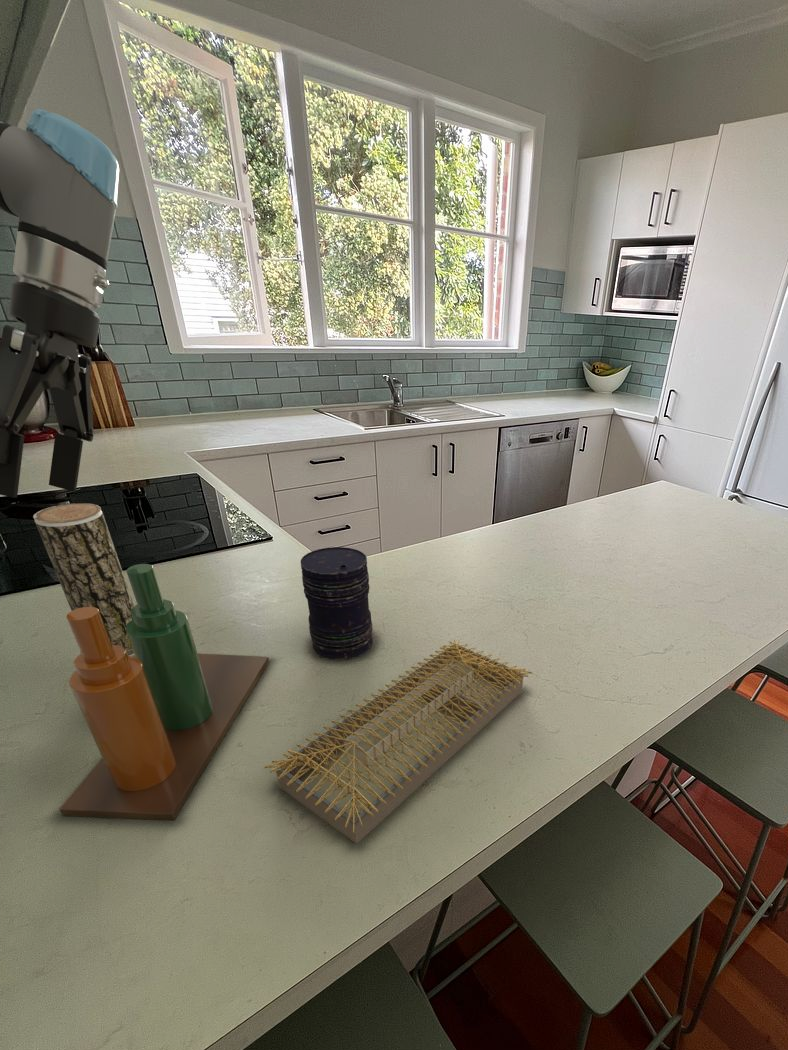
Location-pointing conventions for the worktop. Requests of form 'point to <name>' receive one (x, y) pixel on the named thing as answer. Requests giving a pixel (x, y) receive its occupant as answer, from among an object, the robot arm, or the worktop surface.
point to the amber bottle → (118, 706)
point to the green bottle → (166, 653)
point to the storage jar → (338, 602)
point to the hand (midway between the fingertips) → (34, 491)
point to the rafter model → (399, 735)
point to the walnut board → (175, 749)
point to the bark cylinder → (88, 565)
